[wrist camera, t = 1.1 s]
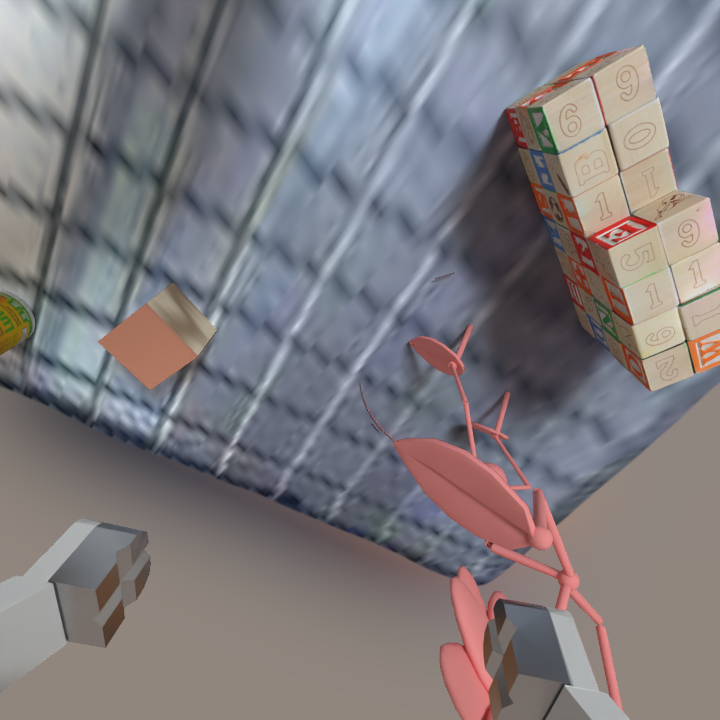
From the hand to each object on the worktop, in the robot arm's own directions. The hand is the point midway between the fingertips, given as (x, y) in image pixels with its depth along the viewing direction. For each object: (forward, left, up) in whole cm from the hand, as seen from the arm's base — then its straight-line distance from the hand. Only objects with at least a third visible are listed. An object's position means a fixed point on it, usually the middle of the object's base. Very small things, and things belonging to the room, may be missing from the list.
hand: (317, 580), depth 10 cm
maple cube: (-4, -20, -33) cm, 39 cm away
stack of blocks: (+9, +17, -34) cm, 39 cm away
